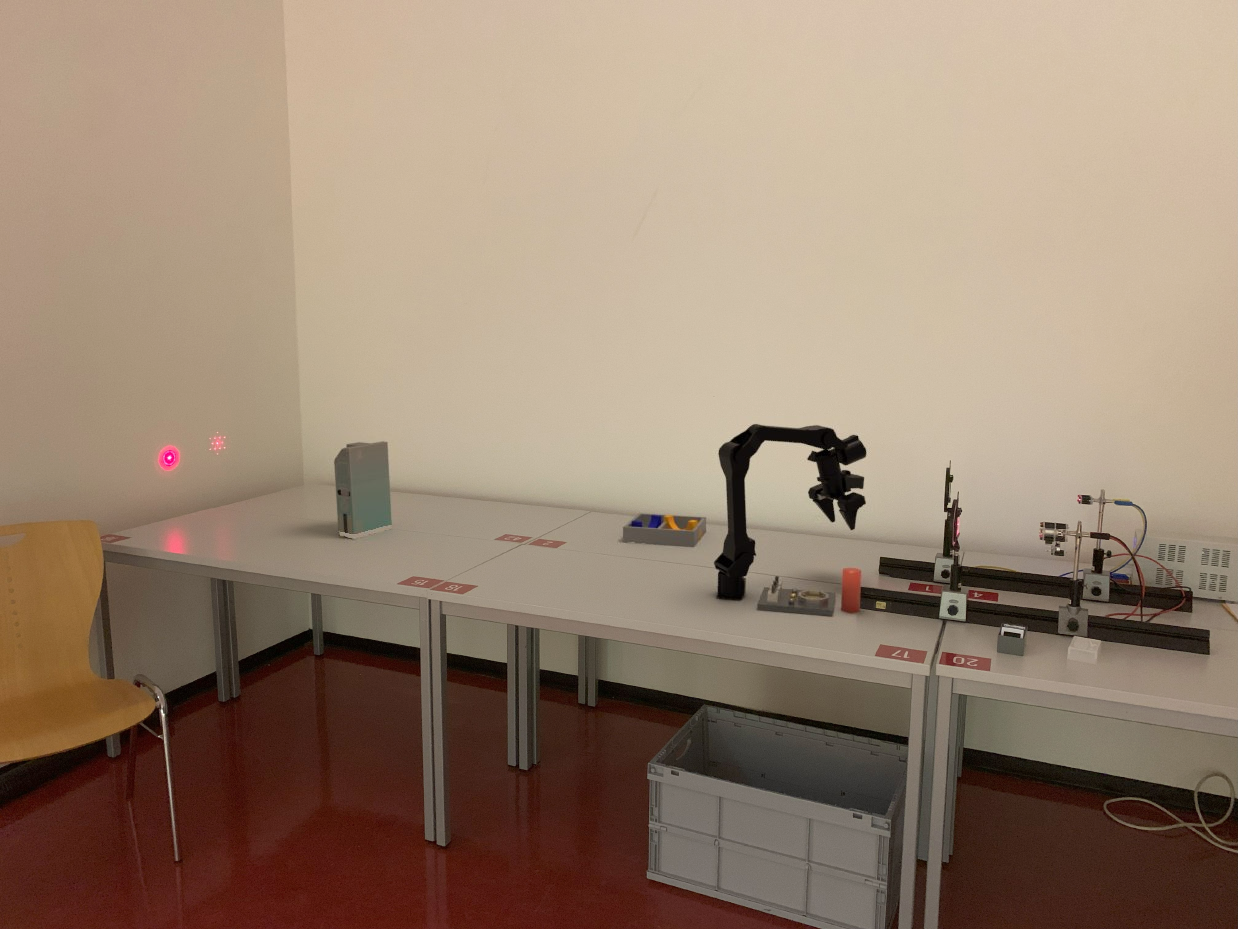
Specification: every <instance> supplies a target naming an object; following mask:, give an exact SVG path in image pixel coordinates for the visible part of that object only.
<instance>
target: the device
mask: <svg viewBox="0 0 1238 929" xmlns="http://www.w3.org/2000/svg"><path fill="white" fill-rule="evenodd" d="M388 446H389V445H388V441H378V442H371V443H370V442H369V443H368V442H362V441H361V442H352V443H346V444H345V447H343V448H341V449H340V451H339V452H338V454H337V455H336V457H335V458H334V460H333V463H334V465H333V466H334V478H335V479H334V480H335V496H336V511H337V512H336V514H337V527H338V528H337V530H338V531H340V532H345V533H349V534H358V533H361V532H365V531H368V530H373V529H376V528H379V527H383V526H388V525H392V526H393V524H392V522H393V521H392V506H391V505H392V504H391V486H390V484H391V483H390V468H389V466H390V464H389V463H390V462H389V447H388Z"/></svg>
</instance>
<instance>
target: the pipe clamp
mask: <svg viewBox="0 0 1238 929" xmlns="http://www.w3.org/2000/svg"><path fill="white" fill-rule="evenodd" d="M666 515H667V516H664V521H665V522H667V529H676V530H681V529H679V528H678V527H677V526H676V524H675V522H674V519H673V516H671V515H672V514H666ZM695 526H698V521H696V520H691V521H688V524H687V527H686V529H683V530H693V529H694V527H695ZM701 539H702V538H701V530H700V540H699V541H701Z"/></svg>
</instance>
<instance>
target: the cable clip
mask: <svg viewBox="0 0 1238 929" xmlns="http://www.w3.org/2000/svg"><path fill="white" fill-rule="evenodd" d="M653 514H654V515H651V521H650V524H649V526H648V527H647V528H658V527H659V526H660V525H661V516H660V515H661V514H659V515H655V513H653ZM632 527H642V521H636V520H633V521H632Z"/></svg>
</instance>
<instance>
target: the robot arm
mask: <svg viewBox="0 0 1238 929" xmlns="http://www.w3.org/2000/svg"><path fill="white" fill-rule="evenodd" d="M765 441H766V442H767V441H768V442H780V443H781V442H782V443H790V444H791V443H793V444H803V445H806V446H810V447H813V448H817V449H820V451H815V450H811V451H810V452H811V453H810V454H809V455H808V457H806V458H807V459H806V460H807V461H808V462H813V463H816V467H817V471H818V474H819V476H818V477H816V479H817V480H816V481H817V482H819V484H815V485H814V486H812V487H809V488H808V491H807V492H808V493H807V494H808V498H809V499H810V500H812V502H813V503H814V504H815V505H816V506H817V508H819V509H820V511H822V513H823V514H824V515H825V517H826V518H827V519H828V520H829V522H831V523H835V522H836V514H835V507H834V506H835V505H834V500H836V503H837V507H838V508H839V509H838V512H839V513H840V515H841V516H842V519H843V520H844V521H845V523H846V525H847V527H848V528H849V530H850V531H854V530H855V529H856V522H857V514H858V510H859V509H861V508H862V507H863V506H865V505H866V504H867V502H866V498H865V497H866V496H865V495H862V494H860V493H857V492H854V491H852V489H859V490H863V489H864V486H865V477H864V476H862V475H859V474H854V473H851V470H848V469H842V467H841V465H843V466H849V465H851V464H853V463H855V462H858V461H861V460H863V459H865V458H866V457H867V448H866V446H865V445H864V443H863V442H862V440H860V437H859V435H857V434H851V435H849V436H848V437H846V438H844V439H841V438H839V436H837V433H836V431H835V429H833V428H832V427H826V426H822V425H817V424H815V425H806V426H802V427H788V426H776V425H765V424H764V425H763V424H760V423H754V424H751V425H750V426H749V427H748V428H747V429H746V430H744V431H741V433H739V434H738V435H736V436H735V435H734V437H733V438H732V439H730V440H729V441H726V442H724V443H723V444H722V445H721V446H720V447H719V448H718V455H717V456H718V460H719V464H720V468H721V470H722V473H723V475H724V478H725V484H726V485H725V488H726V489H725V490H726V491H725V492H726V512H727V514H726V516H727V517H726V518H727V534H726V537H725V538H724V541H723V545H722V546H723V548H722V552H721V554H720V555H719V556H718V557H717V558H716V559H715V560H714V562H713V564H714V567H715V570H718V572H717V593H716V596H715V598H716V599H720V600H721V599H723V600H736V601H742V599H743V598H744V596H745V595H746V593H747V591H746V590H747V588H746V587H747V578H746V577H747V575H748V572H749V569H750V566H751V565H752V564H753V563H754V560H755V557H757V553H756V540H755V539H754V538H752V537H749V535H748V532H747V508H746V504H747V503H746V484H745V483H746V482H745V481H746V476H747V475H748V471H749V469H750V463H751V458H752V457H753V456H754V455H755V454H757V453H758V451H759V449H760V447H761V446H762V444H764V442H765ZM849 492H850V493H849Z"/></svg>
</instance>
